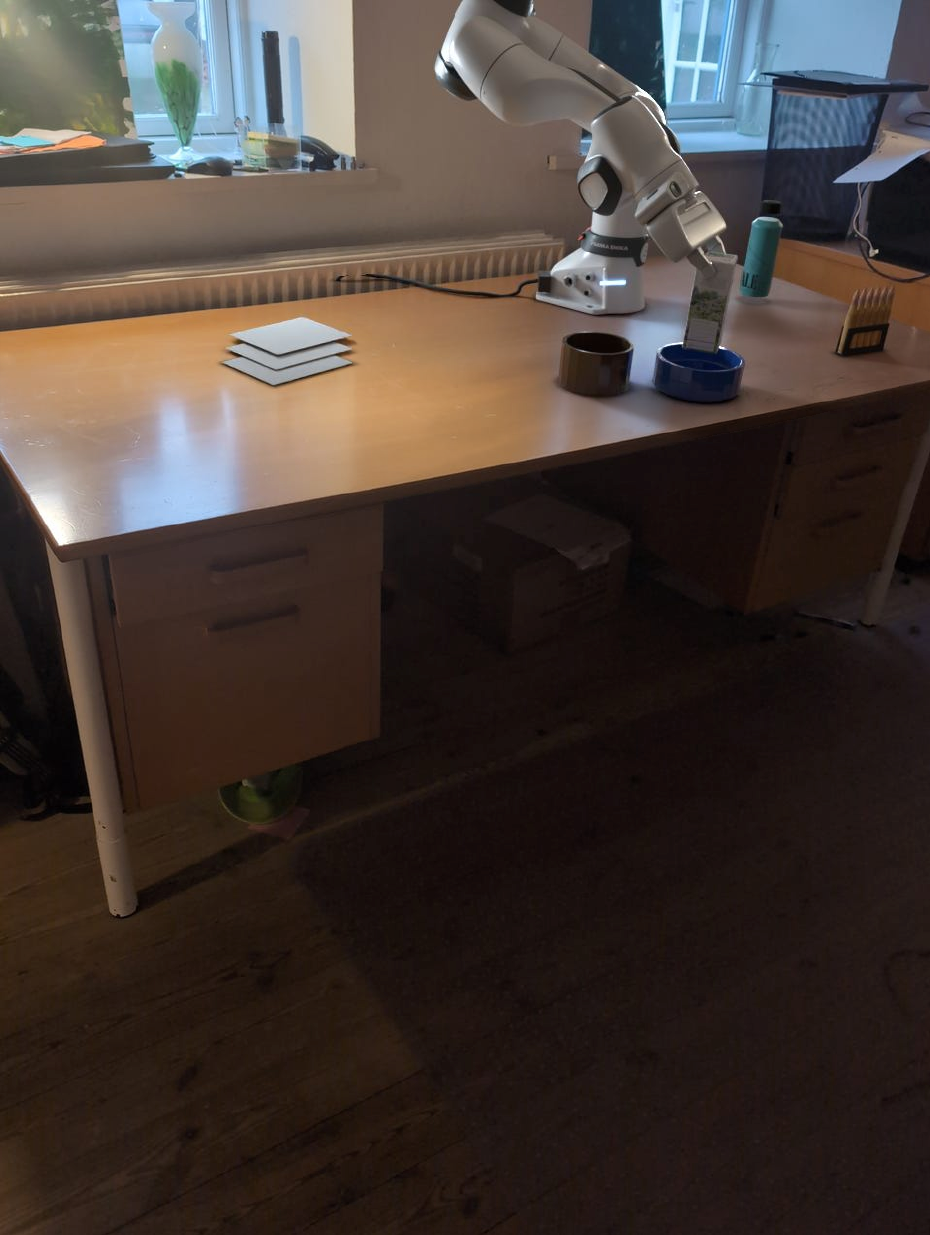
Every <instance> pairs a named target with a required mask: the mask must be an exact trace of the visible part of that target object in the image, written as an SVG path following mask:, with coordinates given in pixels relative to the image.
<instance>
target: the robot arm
mask: <svg viewBox="0 0 930 1235" xmlns="http://www.w3.org/2000/svg"><path fill="white" fill-rule="evenodd" d="M534 3H535V0H462V1H461V2H460V4H459V6H458V7H457V10H456V12H455V13H454V18H453V20H452V22H451V24H450V27H449V29H448V31H447V33H446V36H445V39H444V41H443V43H442V44H443V45H442V47H441V49H439V50H438V53H437V56H436V59H435V63H434V66H433V68H434V73H435V77H436V80H437V81H438V83H439V84H440V85H441V86H442V87H443V88H444V90H446V91H447V92H448V93H449V94H450V95H452V96H453V97H456V98H458V99H461V100H463V101H467V102H472V101H475V100H479V101H480V102H481V103H482V104H483V105H484V106H485V107H486V108H487V109H488V110H489V111H490V112H491V113H492V114H493V115H494V116H495V117H496V118H498V119H500V120H501V121H503V122H504V123H506V124H508V125H511V126H513V127H531V126H535V125H539V124H543V123H547V122H552V121H558V120H560V121H561V120H569V121H571V122H572V123H574V124H576V125H577V126H579V127H581V128H583V129H584V130H586V131H587V132H589V133H590V134H591V136H592V137H591V142H590V146H589V149H588V152H587V155H586V158H585V160H584V162H583V164H581V165H580V167H579V170H578V173H577V179H576V185H577V190H578V194H579V196H580V198H581V200H582V202H583V203H584V204H585V206H586V207H587V208H588V209H589V210H590V211H592V215H591V216H592V218H591V226H589V227H587V228H586V229H585V230H584V231H582V232H581V234H579V235H578V239H577V241H578V242H580V247H579V248H577V249H576V250H574V251H573V252H571V253H569V254H568V255H567V256H565V257H564V258H562V259H561V260H560V261H558V262H557V263H556V264H555V265H554V266H553V267H552V268H551V270H541V269H540V270H538V272H537V278H532V279H528V280H524V281H522V282H520V283H519V285H518V286H517V289H516V290H515V291H513V292H510V293H508V294H507V293H506V294H499V293H491V292H485V291H476V290H475V291H474V290H462V289H454V288H448V287H442V286H437V285H433V284H430V283H426V282H424V281H423V282H422V281H419V280H415V279H410V278H406V277H402V276H396V275H389V274H381V273H372V274H366V275H360V276H361V277H362V276H363V277H366V278H367V277H368V278H371V279H372V278H373V279H383V280H392V281H397V282H401V283H406V284H411V285H415V286H419V287H423V288H426V289H429V290H433V291H437V292H443V293H449V294H454V295H462V296H473V297H486V298H512V297H516V296H518V295H519V294H520V293H521V292H522V290H523V288H524V287H525V286H527V285H531V284H536V286H537V290H536V292H535V299H536V300H538V301H541V302H545V303H549V304H553V305H554V306H555V305H556V306H559V307H563V308H567V309H570V310H573V311H578V312H582V313H586V314H590V315H595V316H598V315H600V316H601V315H606V314H607V315H609V314H631V313H636V312H639V311H642V310H644V309H645V307H646V304H645V297H644V264H645V263H646V260H647V255H648V249H649V237H651V239H652V240H653V241H654V243H655V244H656V246H657V247H658V248H659V249H660V251H661V252H662V253H663V255H664V256H665V257H666V258H667V260H669V261H670V262H672V263H673V264H678V263H679V262H681V261H682V260H684V259H686V258H687V260H688V262H689V263H690V264H691V265H692V266H693V267H694V268H695V269H696V268H697V269H698V270H699V271H700V272H701V273H702V275H703V276H704V278H705V279H709V278H710V277H711V276H713V275H714V274H715V273H716V272H717V269H716V267H715V266H714V264H713V263H712V262H711V263H710V261H709V260H708V259H707V258H706V257H705V255H704V254H703V253H704V252H703V251H704V250H703V247H704V246H705V248H706V249H707V252H715V253H723V254H727V252H726V249H725V246H724V243H723V241H722V238H720V235H721V234H723V233H724V232H725V231H727V229H728V226H727V224H726V221H725V219H724V217H723V216H722V215H721V213H720V212H719V210H718V209H717V208H716V207H715V205H714V204H713V202H712V201H711V200H710V198H709V197H708V196H707V195H706V194H705V193H704V192H702V191H697V189H699V187H700V183H699V182H698V180H697V179H696V177H695V176H694V174H693V173H692V172H691V170H690V168H689V167H688V165H687V164H686V162H685V161H684V159H683V157H681V146H680V145H681V144H680V142H679V139H678V137H677V135H676V134H675V132H674V131H673V130H672V128H670V127H669V126H668V125H667V124H666V119H665V114H664V112H663V110H662V108H661V107H660V106H659V104H658V103H657V102H656V101H655V100H654V99H653V98H652V97H651V95H650V94H648V93H647V92H646V91H644V90H643V89H641V88H640V87H639V86H638V85H637V84H635V83H634V82H632V81H630V80H629V79H627V78H626V77H625V76H623V75H622V74H620V73H619V72H617V71H616V70H614V69H613V68H612V67H610V65H607V64H606V63H604V62H603V61H601V60H600V59H599V58H597V57H596V56H594V55H593V54H592V53H590V52H589V51H588V50H586V49H585V48H583V47H582V46H581V45H579V44H578V43H576V42H575V41H574V40H572V39H571V38H570V37H568V36H566V35H565V34H564V33H563V32H561V31H559V30H558V29H557V28H555V27H553V26H552V25H550V24H548V23H547V22H545V21H544V20H542V19H540V18H538V17H536V9H535V8H534ZM347 276H349V275H346V276H340V274H339V275H337V276H336V277H335V278H334V281H335V282H337V281H341V280H342V279H343V278H345V277H347Z"/></svg>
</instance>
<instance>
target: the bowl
mask: <svg viewBox="0 0 930 1235" xmlns="http://www.w3.org/2000/svg"><path fill="white" fill-rule="evenodd" d="M682 345H683V342H675V343H668V344H665V345H662V346H660V347H659V348H658V349H657V350H656V354H655V362H654V368H653V375H652V380H651V382H652V384H653V386H654V387H655V388H656V389H657V390H659V391H660V392H662V393H664V394H665V395H666V396H669V397H672V398H674V399H678V400H682V401H687V402H693V403H694V402H696V403H718V402H722V401H726V400H730V399H732V398H735V397H736V396H737V395H738V394H739V393H740V390H741V385H742V380H743V376H744V370H745V365H746V360H745V358H744V357H743V356H742V355H741V354H739V353H737V352H736V351H734V350H731V349H728V348H726V347H723V346H720V347H719V349H718V351H717V353H716V354H713V353H706V352H700V351H694V350H688V349H682Z"/></svg>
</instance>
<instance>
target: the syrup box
mask: <svg viewBox="0 0 930 1235" xmlns="http://www.w3.org/2000/svg"><path fill="white" fill-rule="evenodd" d="M703 252H704V253H703V254H704V255H705V257H706V258H707V259H708V260H709V261H710V263H711V262H712V263H713V264H714V266H715V267H716V269H717V272H716V273H715V274H714V275H713V276H711V277H710V278H709V279H705V278H704V276H703V275H702V273H701V272H700V271H699V270H698V269H697V268H696V267H695V269H694V270H695V271H694V277H693V283H692V289H691V294H690V300H689V306H688V311H687V317H686V323H685V328H684V334H683V339H682V343H683V345H682V349H688V350H694V351H700V352H706V353H713V354H716V353H717V351H718V349H719V347H721V344H722V341H723V334H724V328H725V322H726V318H727V312H728V307H729V303H730V297H731V293H732V289H733V284H734V278H735V273H736V268H737V263H738V258H739V257H738V256H739V255H738V254H729V253H726V254H723V253H715V252H710V251H708V250H703Z"/></svg>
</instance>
